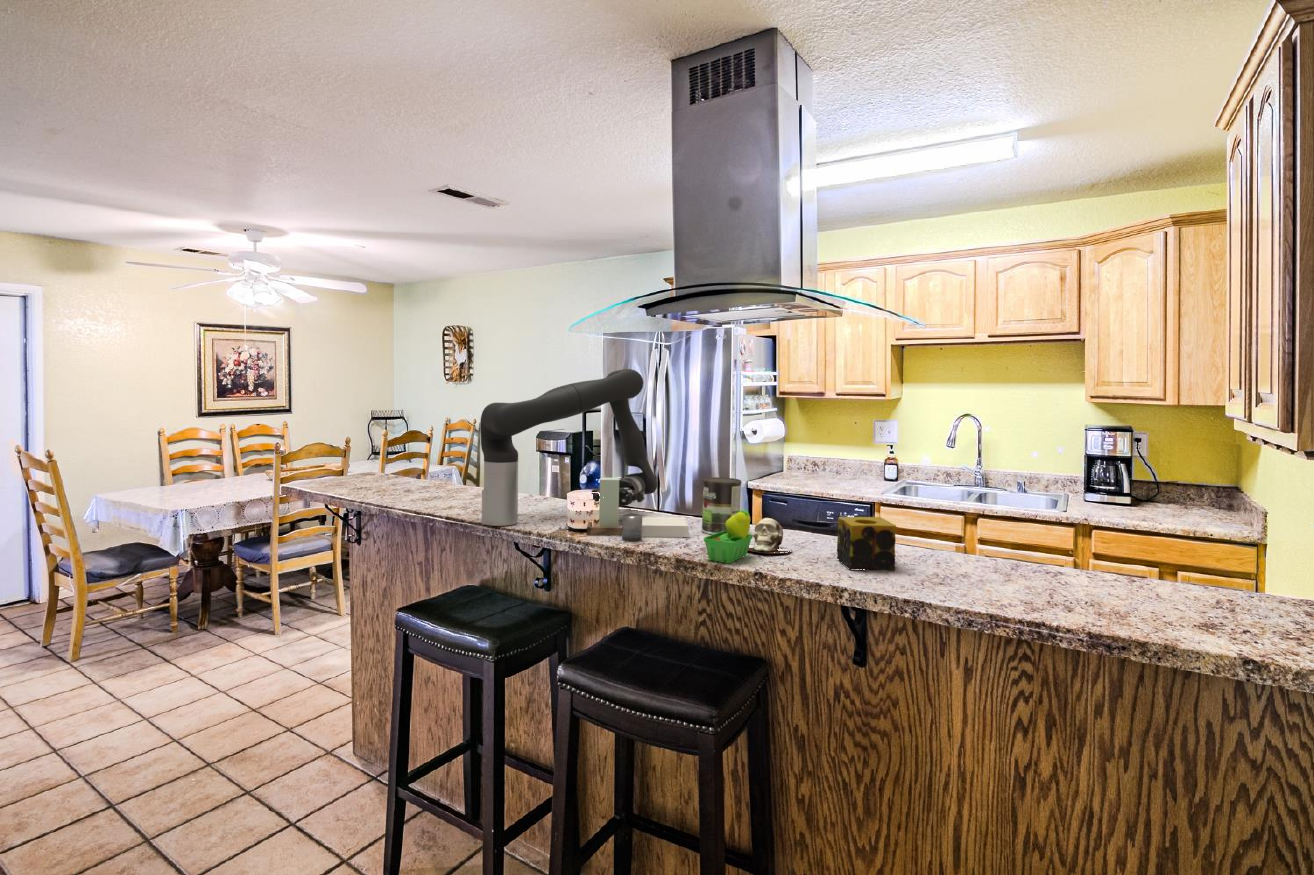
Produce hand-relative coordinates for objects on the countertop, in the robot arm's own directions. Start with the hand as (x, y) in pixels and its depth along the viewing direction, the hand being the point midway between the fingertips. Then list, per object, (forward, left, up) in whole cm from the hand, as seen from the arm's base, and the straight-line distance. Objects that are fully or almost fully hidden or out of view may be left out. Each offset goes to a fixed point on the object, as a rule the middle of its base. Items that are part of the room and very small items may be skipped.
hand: (611, 498), depth 184 cm
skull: (+37, -22, -9) cm, 44 cm away
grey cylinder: (+5, -12, -8) cm, 16 cm away
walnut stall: (-1, -2, -8) cm, 9 cm away
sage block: (-1, -2, -8) cm, 9 cm away
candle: (+56, -36, -9) cm, 68 cm away
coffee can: (+29, -1, -9) cm, 31 cm away
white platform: (+13, -3, -8) cm, 16 cm away
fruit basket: (+27, -31, -9) cm, 42 cm away
